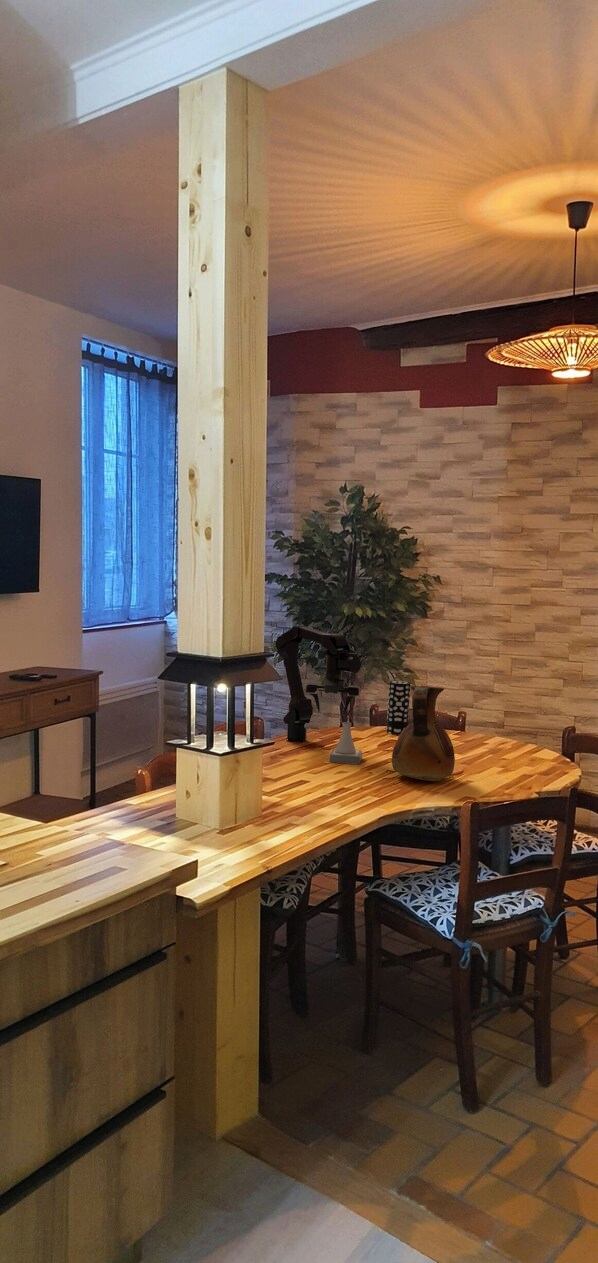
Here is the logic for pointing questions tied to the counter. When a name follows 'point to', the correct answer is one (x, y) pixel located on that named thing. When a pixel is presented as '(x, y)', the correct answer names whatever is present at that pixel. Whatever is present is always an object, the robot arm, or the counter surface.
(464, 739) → the counter surface
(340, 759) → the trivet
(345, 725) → the flask
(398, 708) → the white-spotted black cylinder
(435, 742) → the ceramic pitcher
